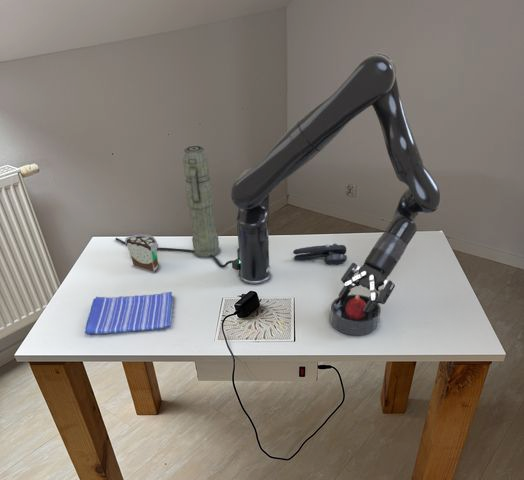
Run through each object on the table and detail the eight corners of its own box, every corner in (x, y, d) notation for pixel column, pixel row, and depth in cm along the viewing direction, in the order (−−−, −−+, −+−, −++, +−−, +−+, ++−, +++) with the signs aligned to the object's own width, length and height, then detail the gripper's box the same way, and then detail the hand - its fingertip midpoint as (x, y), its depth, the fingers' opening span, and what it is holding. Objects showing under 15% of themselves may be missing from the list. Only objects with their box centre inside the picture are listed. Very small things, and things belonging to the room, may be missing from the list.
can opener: (346, 256, 161) (347, 240, 157) (346, 266, 156) (347, 250, 152) (294, 254, 163) (294, 239, 160) (292, 264, 158) (292, 248, 154)
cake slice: (169, 265, 161) (164, 238, 154) (157, 274, 157) (152, 246, 150) (143, 257, 166) (137, 230, 160) (130, 265, 162) (123, 238, 156)
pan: (320, 322, 132) (321, 308, 129) (350, 303, 139) (351, 289, 136) (358, 343, 125) (360, 328, 121) (388, 321, 131) (390, 307, 128)
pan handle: (372, 305, 133) (373, 300, 132) (366, 302, 134) (367, 297, 133) (387, 295, 136) (388, 290, 135) (381, 293, 138) (382, 287, 136)
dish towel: (95, 303, 145) (92, 295, 143) (173, 296, 146) (172, 288, 144) (84, 337, 131) (81, 329, 129) (170, 329, 132) (169, 321, 131)
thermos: (193, 261, 162) (177, 155, 140) (195, 245, 172) (181, 143, 149) (219, 259, 163) (207, 153, 140) (220, 243, 172) (209, 141, 150)
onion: (365, 327, 129) (368, 302, 124) (343, 325, 130) (345, 301, 125) (365, 315, 133) (368, 290, 128) (345, 313, 134) (347, 289, 129)
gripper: (359, 239, 127) (326, 291, 129) (402, 258, 118) (366, 313, 120) (371, 250, 133) (339, 300, 135) (412, 269, 124) (378, 322, 126)
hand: (352, 306), depth 127 cm, fingers open, 8 cm apart
